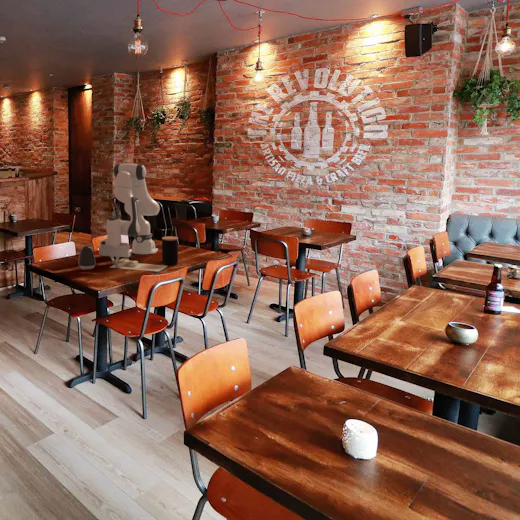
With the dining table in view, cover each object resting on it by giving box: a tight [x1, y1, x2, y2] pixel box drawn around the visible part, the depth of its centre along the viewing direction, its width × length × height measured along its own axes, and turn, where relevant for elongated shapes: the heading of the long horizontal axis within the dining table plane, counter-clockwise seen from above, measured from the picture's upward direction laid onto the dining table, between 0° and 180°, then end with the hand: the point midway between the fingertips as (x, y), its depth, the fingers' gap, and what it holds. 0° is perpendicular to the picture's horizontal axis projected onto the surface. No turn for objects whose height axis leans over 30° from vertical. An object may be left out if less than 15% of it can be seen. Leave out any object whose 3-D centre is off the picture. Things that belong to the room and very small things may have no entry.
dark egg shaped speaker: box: [77, 245, 97, 271], centre depth 289 cm, size 10×10×15 cm
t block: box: [114, 257, 139, 267], centre depth 300 cm, size 12×12×3 cm
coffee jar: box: [161, 235, 179, 266], centre depth 312 cm, size 11×11×18 cm
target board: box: [109, 262, 169, 274], centre depth 299 cm, size 16×33×1 cm, turn 81°
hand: (114, 262), depth 301 cm, fingers closed
